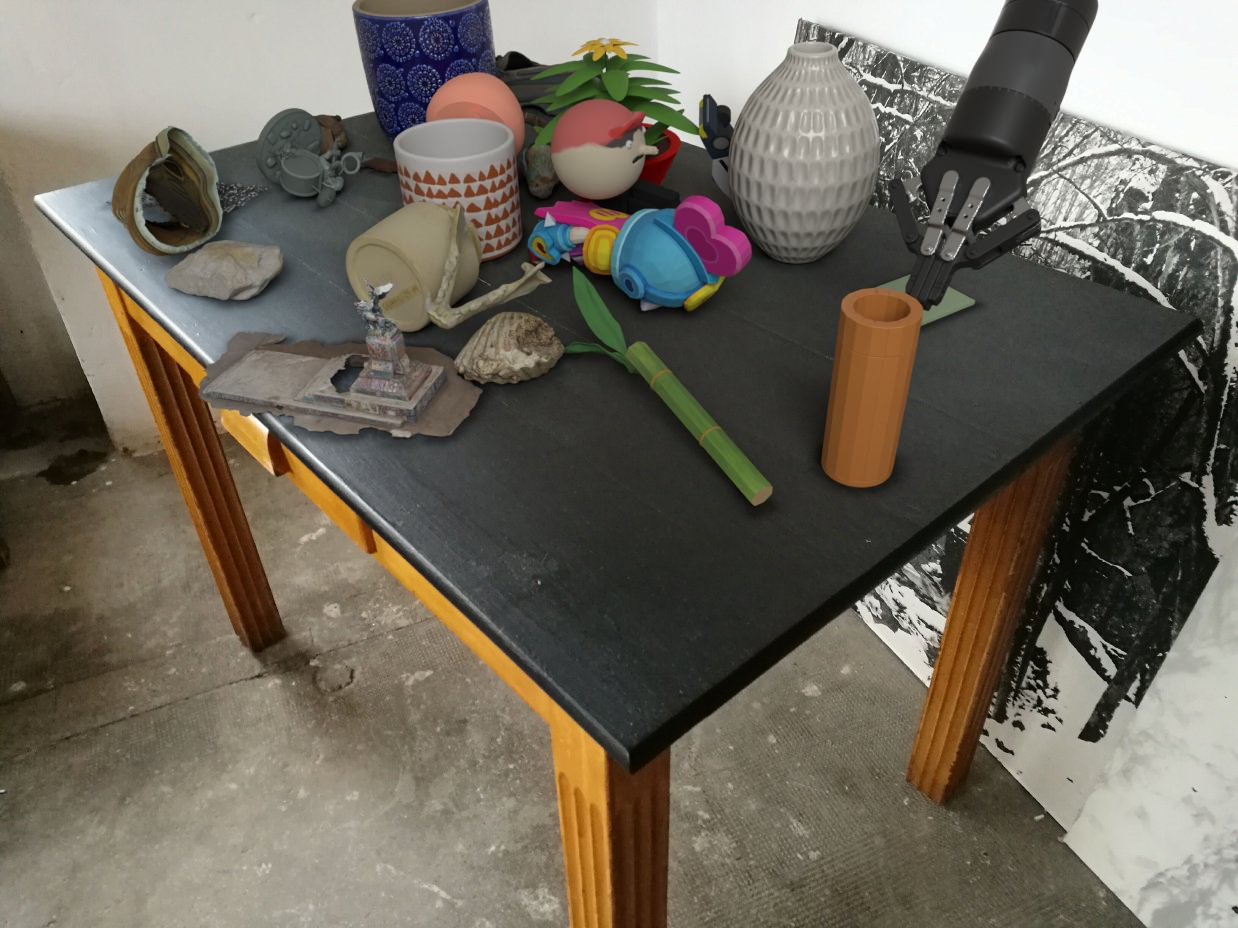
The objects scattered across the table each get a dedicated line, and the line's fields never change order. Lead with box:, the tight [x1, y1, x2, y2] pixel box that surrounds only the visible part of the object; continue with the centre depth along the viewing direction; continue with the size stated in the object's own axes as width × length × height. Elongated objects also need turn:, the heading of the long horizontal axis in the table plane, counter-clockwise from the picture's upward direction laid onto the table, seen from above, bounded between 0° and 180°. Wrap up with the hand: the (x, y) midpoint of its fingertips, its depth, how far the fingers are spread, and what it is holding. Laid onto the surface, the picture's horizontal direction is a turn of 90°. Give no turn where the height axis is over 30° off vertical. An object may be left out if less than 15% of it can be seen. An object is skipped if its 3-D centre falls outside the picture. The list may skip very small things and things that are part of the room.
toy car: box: [698, 93, 734, 200], centre depth 110 cm, size 5×16×5 cm
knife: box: [360, 156, 398, 174], centre depth 126 cm, size 28×1×5 cm
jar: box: [820, 287, 923, 488], centre depth 71 cm, size 6×6×15 cm
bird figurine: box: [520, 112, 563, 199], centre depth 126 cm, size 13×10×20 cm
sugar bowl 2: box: [426, 72, 526, 158], centre depth 115 cm, size 12×14×10 cm
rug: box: [105, 180, 270, 216], centre depth 126 cm, size 10×20×1 cm, turn 72°
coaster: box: [874, 273, 976, 327], centre depth 96 cm, size 8×8×1 cm
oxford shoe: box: [111, 125, 224, 257], centre depth 113 cm, size 28×10×11 cm
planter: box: [351, 0, 498, 148], centre depth 129 cm, size 18×18×21 cm
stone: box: [164, 239, 285, 301], centre depth 104 cm, size 14×6×10 cm
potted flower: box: [530, 37, 699, 203], centre depth 111 cm, size 24×25×20 cm
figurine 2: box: [313, 114, 348, 161], centre depth 139 cm, size 14×4×9 cm
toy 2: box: [593, 178, 683, 215], centre depth 104 cm, size 8×4×15 cm
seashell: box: [454, 311, 565, 385], centre depth 87 cm, size 11×7×10 cm
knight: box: [527, 195, 753, 312], centre depth 96 cm, size 12×14×30 cm
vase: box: [728, 41, 881, 264], centre depth 99 cm, size 16×16×22 cm
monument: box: [197, 278, 484, 439], centre depth 85 cm, size 30×16×13 cm, turn 73°
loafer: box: [495, 50, 604, 117], centre depth 148 cm, size 11×30×9 cm, turn 59°
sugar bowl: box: [345, 202, 482, 333], centre depth 98 cm, size 15×11×15 cm
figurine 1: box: [254, 107, 366, 208], centre depth 123 cm, size 11×11×12 cm
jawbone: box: [425, 203, 553, 330], centre depth 87 cm, size 12×13×8 cm
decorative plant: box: [563, 265, 773, 507], centre depth 81 cm, size 6×8×30 cm
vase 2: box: [393, 118, 523, 263], centre depth 108 cm, size 14×14×13 cm
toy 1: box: [551, 99, 659, 199], centre depth 97 cm, size 10×12×10 cm
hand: (918, 306), depth 74 cm, fingers closed
